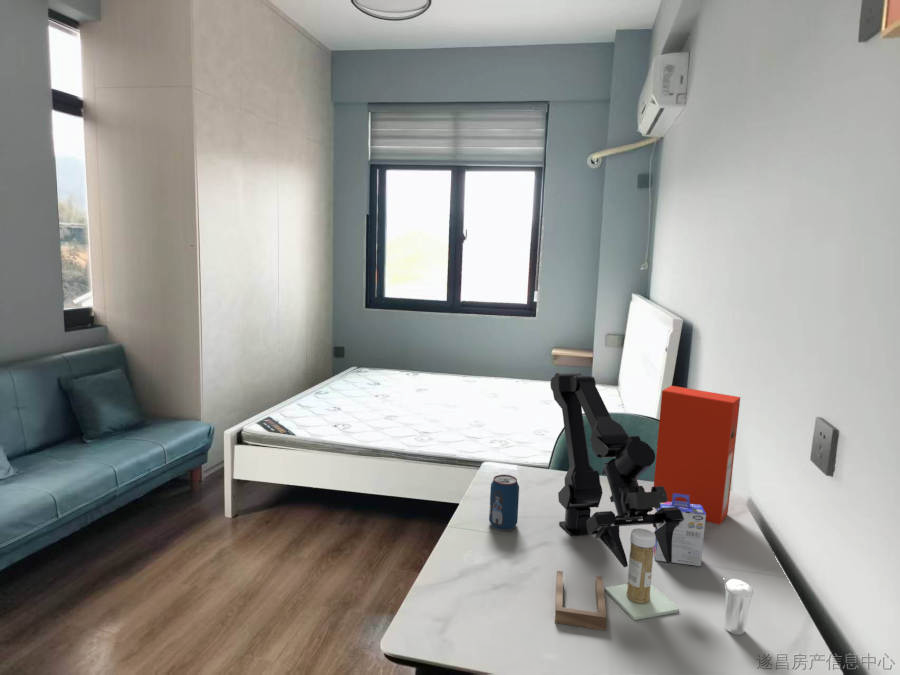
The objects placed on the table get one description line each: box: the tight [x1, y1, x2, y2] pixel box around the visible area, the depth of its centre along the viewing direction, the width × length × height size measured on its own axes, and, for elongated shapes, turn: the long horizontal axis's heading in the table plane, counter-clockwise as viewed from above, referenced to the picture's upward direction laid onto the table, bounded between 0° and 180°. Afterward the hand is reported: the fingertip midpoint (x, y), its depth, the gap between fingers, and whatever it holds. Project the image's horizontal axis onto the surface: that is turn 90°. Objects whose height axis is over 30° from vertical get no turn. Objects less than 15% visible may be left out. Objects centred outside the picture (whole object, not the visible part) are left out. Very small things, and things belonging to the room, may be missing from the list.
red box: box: [653, 385, 741, 526], centre depth 155 cm, size 8×17×32 cm, turn 52°
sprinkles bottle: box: [626, 528, 656, 603], centre depth 115 cm, size 5×5×13 cm
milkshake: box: [723, 578, 754, 636], centre depth 107 cm, size 4×5×10 cm
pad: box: [603, 583, 680, 621], centre depth 116 cm, size 10×10×1 cm
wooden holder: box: [554, 570, 608, 631], centre depth 114 cm, size 14×9×2 cm, turn 169°
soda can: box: [488, 474, 520, 532], centre depth 144 cm, size 7×7×12 cm
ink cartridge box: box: [653, 493, 707, 567], centre depth 132 cm, size 10×6×14 cm, turn 78°
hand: (648, 564), depth 113 cm, fingers open, 9 cm apart
